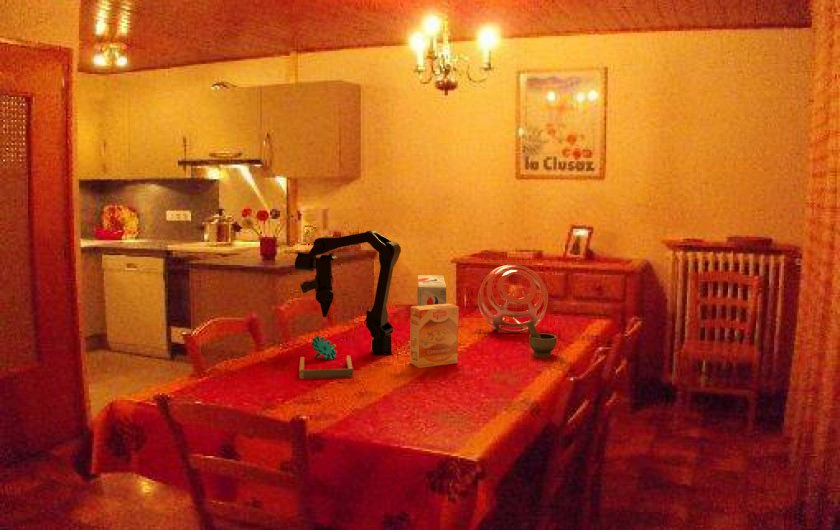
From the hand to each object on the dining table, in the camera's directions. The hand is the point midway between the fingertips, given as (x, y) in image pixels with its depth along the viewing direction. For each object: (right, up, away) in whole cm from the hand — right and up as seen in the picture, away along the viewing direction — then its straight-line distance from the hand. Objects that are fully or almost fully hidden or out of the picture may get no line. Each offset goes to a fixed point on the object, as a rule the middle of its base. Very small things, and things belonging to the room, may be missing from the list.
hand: (324, 314), depth 269 cm
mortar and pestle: (+77, -14, -7) cm, 78 cm away
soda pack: (+40, -3, +77) cm, 87 cm away
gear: (+2, -14, -14) cm, 20 cm away
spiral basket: (+72, -9, +32) cm, 79 cm away
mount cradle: (+4, -16, -29) cm, 33 cm away
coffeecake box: (+39, -15, -19) cm, 46 cm away
